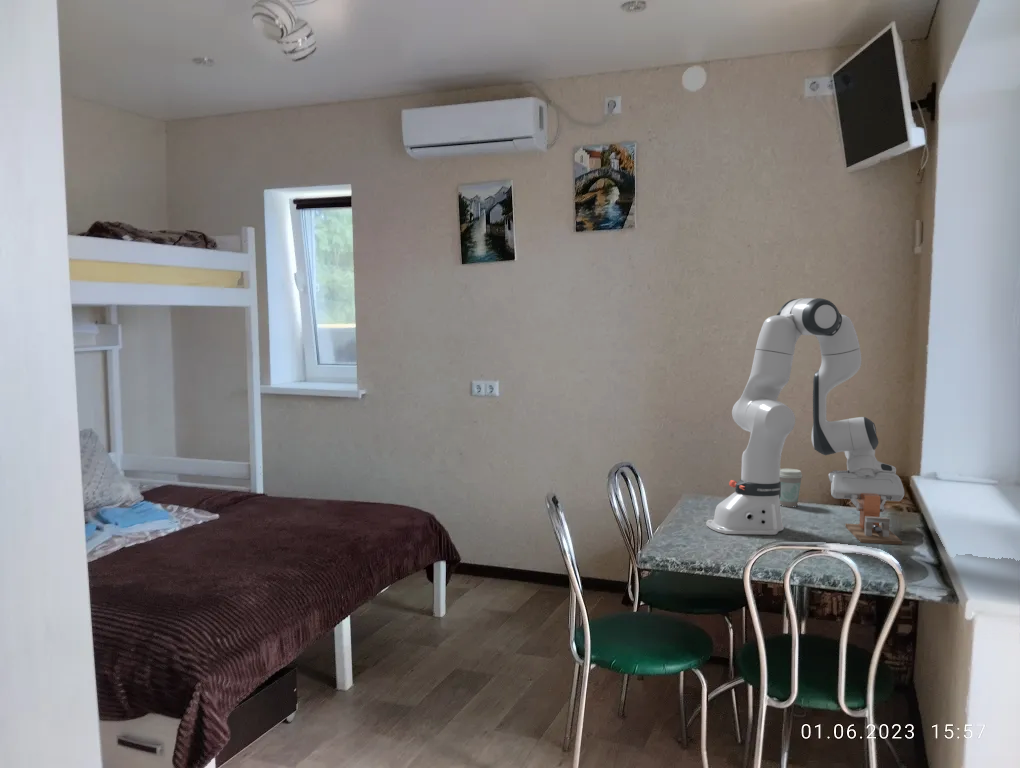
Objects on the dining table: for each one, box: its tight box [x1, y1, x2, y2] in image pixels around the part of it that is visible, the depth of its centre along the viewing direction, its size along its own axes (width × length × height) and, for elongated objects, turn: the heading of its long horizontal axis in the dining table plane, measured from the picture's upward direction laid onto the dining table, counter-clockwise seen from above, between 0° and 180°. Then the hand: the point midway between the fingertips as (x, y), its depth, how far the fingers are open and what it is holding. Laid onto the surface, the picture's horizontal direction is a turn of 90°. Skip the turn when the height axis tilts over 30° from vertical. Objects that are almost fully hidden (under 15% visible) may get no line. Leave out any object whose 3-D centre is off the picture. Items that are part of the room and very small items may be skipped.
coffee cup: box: [779, 467, 803, 508], centre depth 276 cm, size 8×9×12 cm
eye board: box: [844, 516, 903, 545], centre depth 238 cm, size 18×11×6 cm, turn 170°
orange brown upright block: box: [858, 493, 882, 533], centre depth 238 cm, size 12×4×10 cm, turn 170°
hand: (870, 510), depth 241 cm, fingers closed on orange brown upright block, 4 cm apart
